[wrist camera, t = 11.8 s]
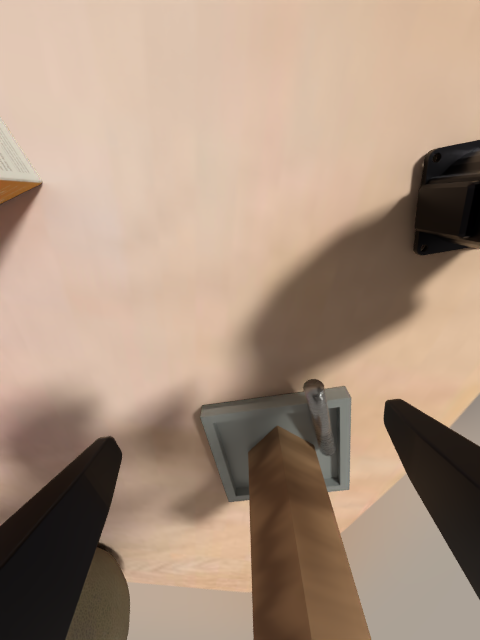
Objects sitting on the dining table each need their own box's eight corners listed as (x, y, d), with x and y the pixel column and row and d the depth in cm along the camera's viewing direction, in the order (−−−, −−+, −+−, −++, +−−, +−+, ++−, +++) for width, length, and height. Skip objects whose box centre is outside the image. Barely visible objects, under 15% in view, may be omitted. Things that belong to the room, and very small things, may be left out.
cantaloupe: (78, 573, 41) (-1, 755, 28) (30, 528, 35) (-100, 732, 22) (160, 565, 40) (119, 752, 27) (124, 516, 34) (49, 726, 21)
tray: (345, 386, 24) (351, 397, 23) (344, 476, 30) (349, 489, 29) (202, 405, 25) (200, 417, 24) (229, 488, 31) (229, 502, 30)
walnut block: (277, 425, 26) (313, 647, 13) (313, 444, 27) (378, 664, 14) (248, 452, 27) (254, 670, 15) (283, 469, 29) (317, 683, 16)
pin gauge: (308, 376, 21) (299, 391, 20) (327, 382, 20) (318, 398, 19) (322, 437, 27) (316, 451, 26) (338, 445, 26) (331, 459, 25)
